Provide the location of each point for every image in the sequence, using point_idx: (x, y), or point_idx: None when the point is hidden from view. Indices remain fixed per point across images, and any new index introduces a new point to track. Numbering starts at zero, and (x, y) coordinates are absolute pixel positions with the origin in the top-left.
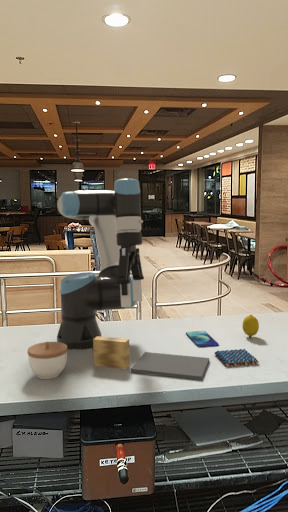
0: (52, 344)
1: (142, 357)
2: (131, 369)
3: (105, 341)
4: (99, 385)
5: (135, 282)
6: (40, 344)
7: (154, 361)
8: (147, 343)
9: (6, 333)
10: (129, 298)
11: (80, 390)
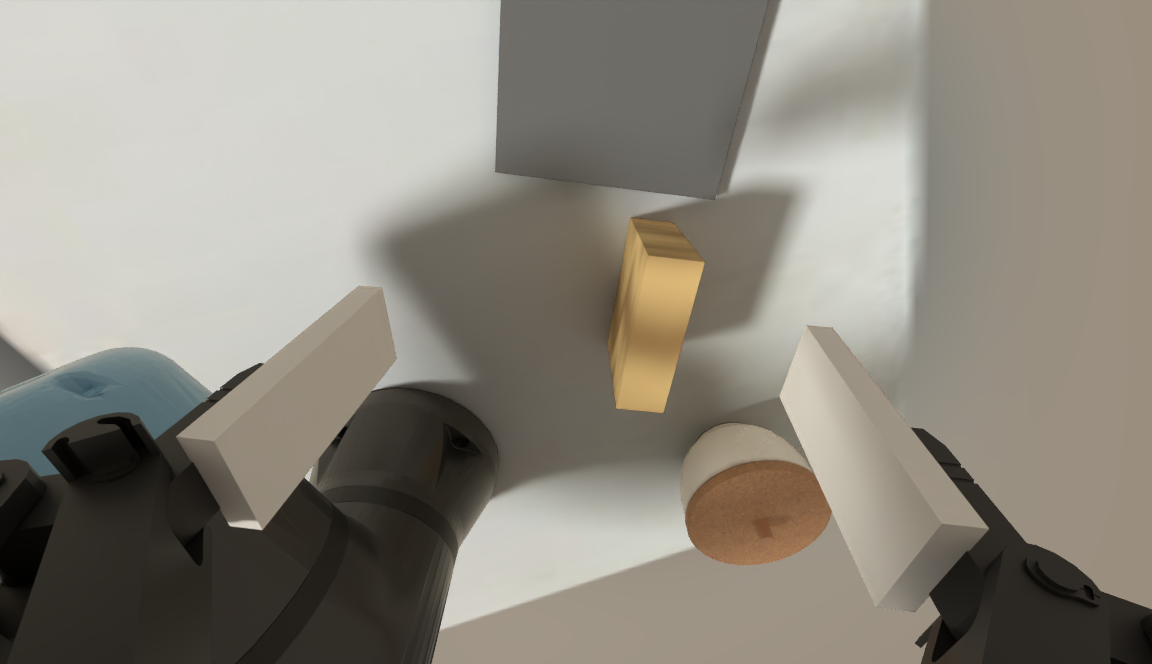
0: (729, 520)
1: (573, 170)
2: (715, 194)
3: (676, 359)
4: (828, 284)
5: (268, 473)
6: (727, 549)
7: (618, 96)
8: (329, 187)
9: None
10: (868, 382)
11: (859, 331)
